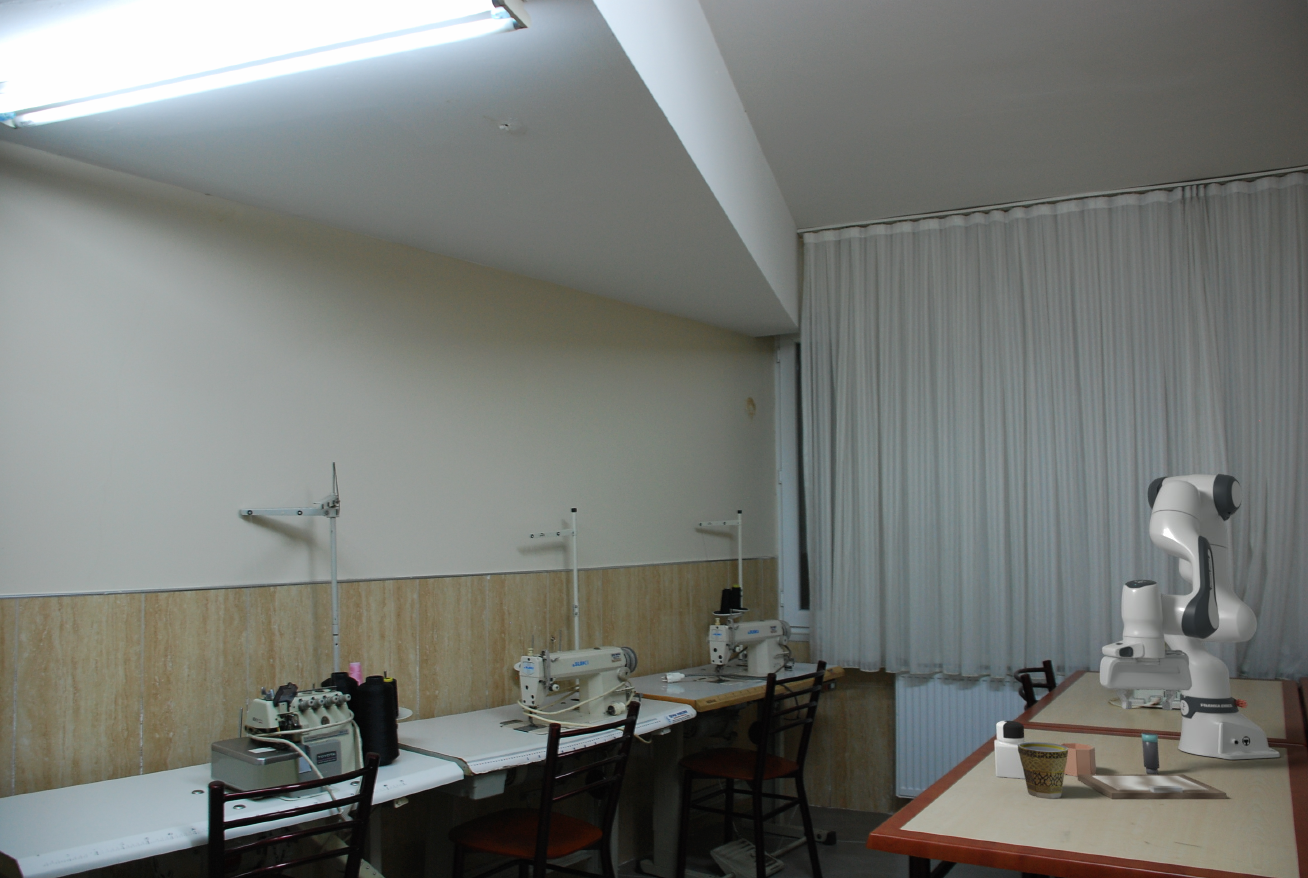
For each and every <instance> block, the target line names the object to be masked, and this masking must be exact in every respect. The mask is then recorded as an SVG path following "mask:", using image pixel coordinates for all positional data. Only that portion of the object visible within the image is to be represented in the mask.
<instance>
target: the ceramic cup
mask: <svg viewBox="0 0 1308 878" xmlns="http://www.w3.org/2000/svg"><path fill="white" fill-rule="evenodd" d="M1059 744H1060V743H1055V742H1054V743H1053V742H1044V741H1042V742H1041V741H1025V742H1023V743H1020V744H1018V752H1019V755H1020V760H1021V763H1022V766H1023V771H1024V776H1025V779H1024V780H1025V784H1026V789H1027V793H1028V795H1030V796H1032V797H1035V796H1036V797H1035V798H1041V799H1049V800H1051V799H1053V800H1054V799H1061V796H1062V795H1063V788H1064V787H1063V785H1064V780H1065V779H1064V777H1065V774H1064V771H1065V767H1066V763H1067V755H1068V748H1067V747H1065V746H1063V745H1059Z"/></svg>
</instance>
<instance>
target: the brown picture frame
mask: <svg viewBox="0 0 1308 878" xmlns="http://www.w3.org/2000/svg"><path fill="white" fill-rule="evenodd" d="M1077 781H1079V782H1080V781H1081V782H1080V783H1082V782H1083V784H1084V785H1086V786H1087V787H1089V786H1090V788H1091V787H1092V788H1091V789H1093V790H1095V791H1096V792H1098V793H1100V794H1103V795H1104V796H1106V797H1108V798H1110V799H1111V800H1188V799H1189V800H1222V799H1223V800H1227V792H1225V791H1222V790H1220V789H1218V788H1216V787H1213V786H1211V785H1208V784H1206V783H1204V782H1202V781H1199V780H1197V779H1195V778H1192V777H1190V776H1188V775H1185V774H1183V773H1182V774H1178V773H1177V774H1172V773H1171V774H1170V773H1169V774H1158V775H1150V774H1096V775H1078V776H1077Z"/></svg>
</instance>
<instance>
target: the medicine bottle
mask: <svg viewBox="0 0 1308 878" xmlns="http://www.w3.org/2000/svg"><path fill="white" fill-rule="evenodd" d="M995 731H996V739H994V762H995V765H994V767H995V776H996V778H1004V777H1007V778H1006V779H1018V778H1020V780H1021V779H1022V780H1025V776H1024V771H1023V766H1022V763H1021V760H1020V755H1019V752H1018V744H1020V743H1023V742H1026V741H1025V727H1024V724H1023V723H1021V722H1018V721H1014V720H1001V721H998V722H997V723H996V728H995Z"/></svg>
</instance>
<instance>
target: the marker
mask: <svg viewBox="0 0 1308 878" xmlns="http://www.w3.org/2000/svg"><path fill="white" fill-rule="evenodd" d="M1141 742H1142V756H1143V767H1144V768H1145V772H1146V773H1145V774H1146V775H1159V772H1158V771H1159V770H1158V769H1160V758H1159V757H1160V754H1159V744H1158V742H1159V736H1158V733H1155V732H1141Z"/></svg>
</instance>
